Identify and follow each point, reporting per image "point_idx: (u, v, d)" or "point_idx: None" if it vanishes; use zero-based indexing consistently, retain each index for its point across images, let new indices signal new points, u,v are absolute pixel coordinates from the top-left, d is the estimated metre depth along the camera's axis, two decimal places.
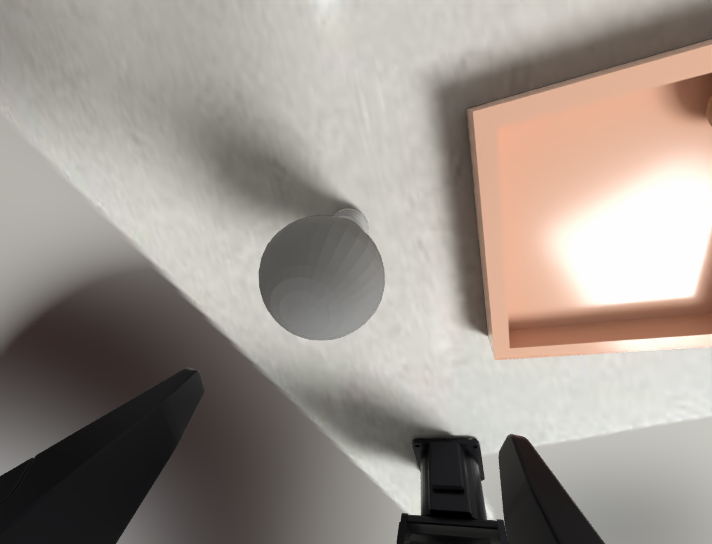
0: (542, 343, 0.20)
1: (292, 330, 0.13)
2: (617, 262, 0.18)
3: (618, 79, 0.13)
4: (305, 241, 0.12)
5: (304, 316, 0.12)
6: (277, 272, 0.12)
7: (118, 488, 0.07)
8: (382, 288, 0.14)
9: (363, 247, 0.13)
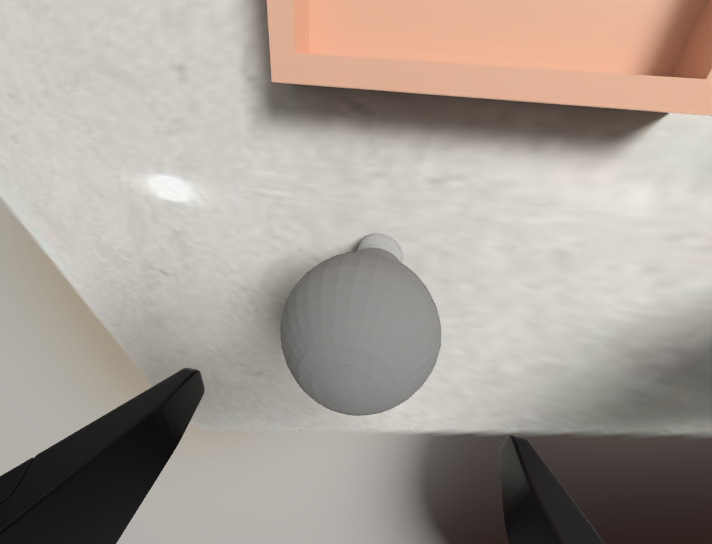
0: None
1: (372, 411, 0.10)
2: None
3: None
4: (282, 332, 0.11)
5: (344, 393, 0.09)
6: (296, 380, 0.10)
7: (118, 488, 0.07)
8: (387, 276, 0.10)
9: (320, 275, 0.10)
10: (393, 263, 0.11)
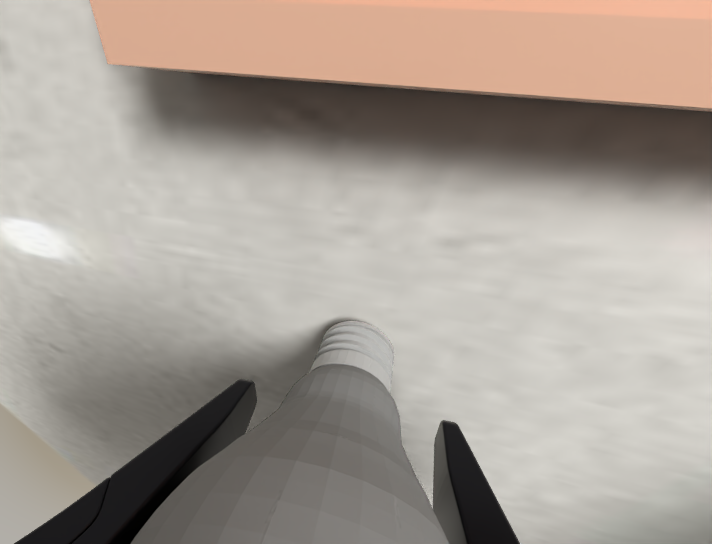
0: None
1: None
2: None
3: None
4: None
5: None
6: None
7: None
8: None
9: None
10: (358, 525, 0.04)
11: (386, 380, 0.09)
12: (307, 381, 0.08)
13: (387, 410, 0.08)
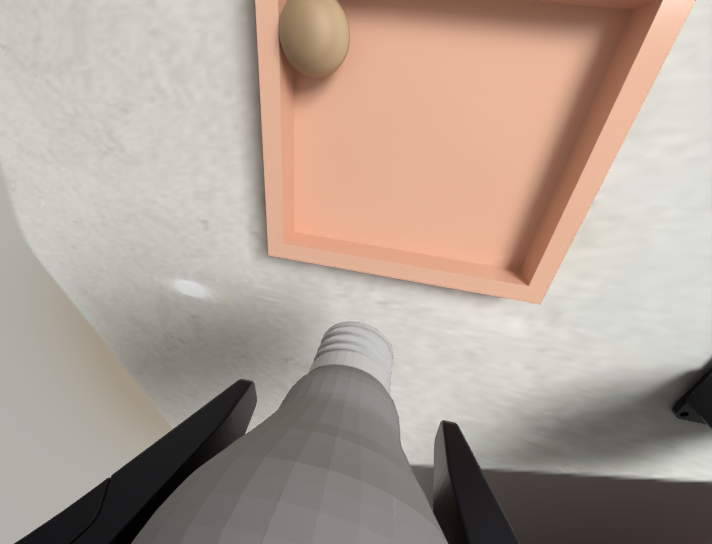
0: (543, 250, 0.16)
1: None
2: (474, 143, 0.15)
3: (269, 158, 0.16)
4: None
5: None
6: None
7: None
8: None
9: None
10: (357, 525, 0.04)
11: (385, 381, 0.09)
12: (306, 382, 0.08)
13: (386, 411, 0.08)
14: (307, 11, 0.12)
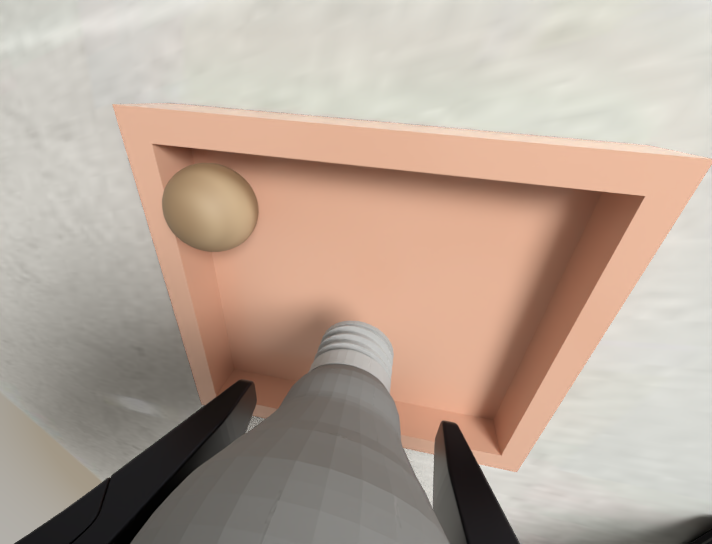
0: (515, 423, 0.13)
1: None
2: (425, 301, 0.13)
3: (183, 322, 0.13)
4: None
5: None
6: None
7: None
8: None
9: None
10: (358, 525, 0.04)
11: (385, 380, 0.09)
12: (306, 381, 0.08)
13: (387, 410, 0.08)
14: (186, 204, 0.09)
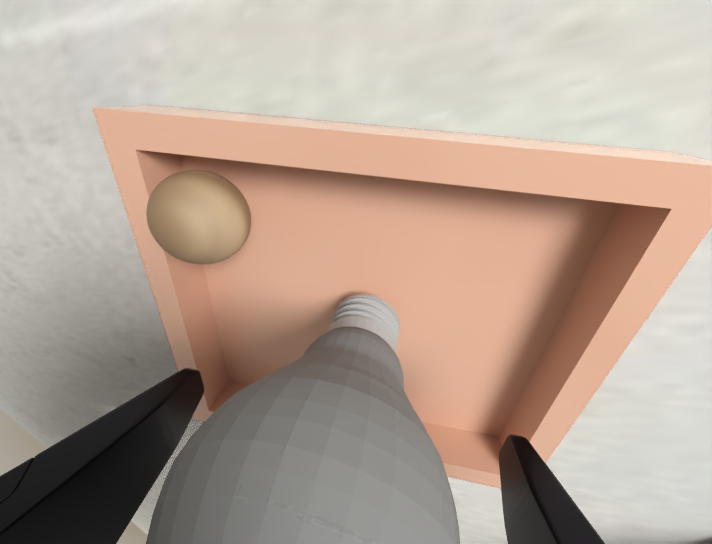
0: None
1: None
2: (428, 315, 0.12)
3: (173, 335, 0.13)
4: None
5: None
6: None
7: (118, 488, 0.07)
8: (346, 477, 0.05)
9: (212, 456, 0.05)
10: (367, 420, 0.05)
11: (392, 343, 0.10)
12: (323, 338, 0.09)
13: (392, 363, 0.09)
14: (171, 215, 0.08)
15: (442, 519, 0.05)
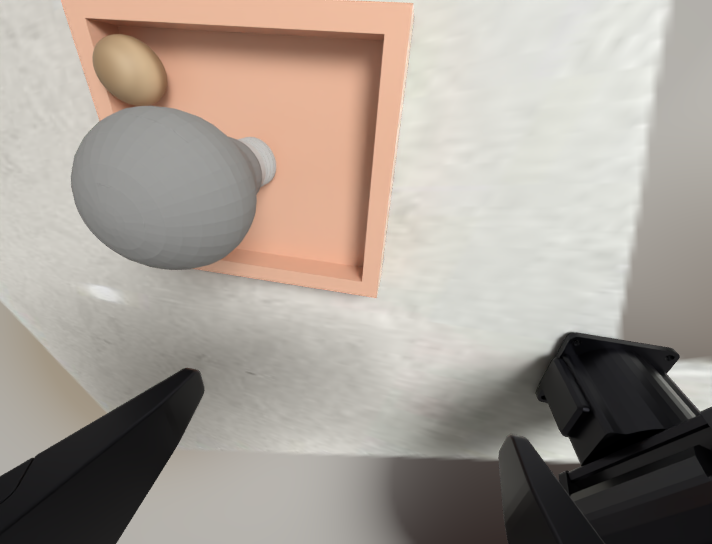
0: None
1: (150, 248, 0.10)
2: (297, 156, 0.17)
3: None
4: None
5: (107, 218, 0.09)
6: None
7: (118, 488, 0.07)
8: (164, 113, 0.10)
9: (106, 117, 0.10)
10: (189, 113, 0.11)
11: (258, 156, 0.16)
12: None
13: (246, 150, 0.14)
14: (105, 55, 0.14)
15: (220, 151, 0.10)
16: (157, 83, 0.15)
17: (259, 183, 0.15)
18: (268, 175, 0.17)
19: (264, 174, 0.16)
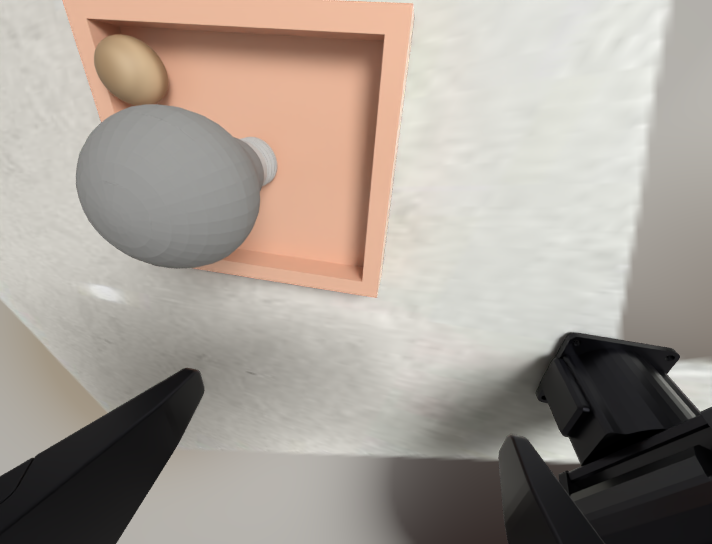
0: None
1: (156, 246, 0.10)
2: (297, 156, 0.17)
3: None
4: None
5: (113, 215, 0.09)
6: None
7: (118, 488, 0.07)
8: (170, 111, 0.10)
9: (111, 116, 0.10)
10: (193, 112, 0.11)
11: (260, 156, 0.16)
12: None
13: (248, 150, 0.14)
14: (107, 55, 0.14)
15: (226, 150, 0.10)
16: (158, 83, 0.15)
17: (261, 182, 0.15)
18: (269, 175, 0.17)
19: (266, 174, 0.16)
